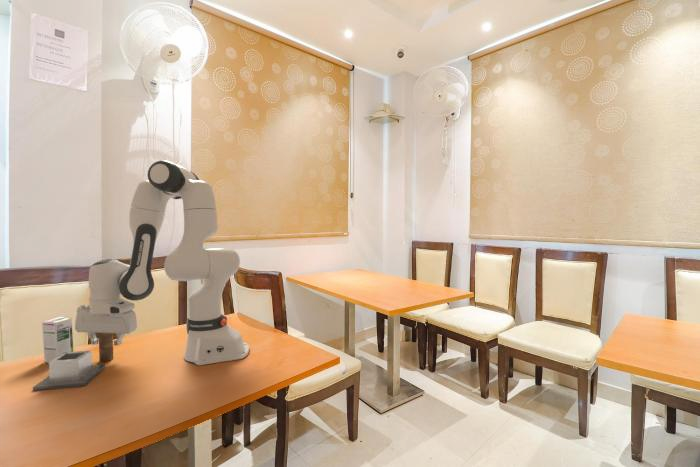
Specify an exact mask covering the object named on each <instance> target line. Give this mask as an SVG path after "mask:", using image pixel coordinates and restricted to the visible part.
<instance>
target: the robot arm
mask: <svg viewBox="0 0 700 467" xmlns="http://www.w3.org/2000/svg"><path fill="white" fill-rule="evenodd" d="M171 199H174V200H181V201H182V206H183V209H182V210H183V211H182V212H183V234H182V237H181V240H180V242H179V244H178V245H177V247H176V248H175V249H174V250H173V251H171V252H169V254H168V255H167V256H166V258H165V260H164V262H163V263H164V264H163V268H164V272H165V274H166V276H167V277H168V278H169V279H170V280H172V281H178V282H190V281H198V280H200V281H201V280H203V281H202V284H201V285H200V286H199V287H198V288H196V289H194V290H193V291H192V292H191V293H190V294H189V295H188V296H189V297H188V298H187V318H186V333H187V342H186V348H185V352H184V355H183V359H184V360H185V361H187V362H191V363H193V364H195V365H196V366H204V365H210V364H215V363H217V364H218V363H223V362H224V363H225V362H230V361H238V360H241V359H242V360H243V359H244V358H245V357H247V356H248V354H249V352H250V345H249V343H247V342H244V341H243V340H244V339H243V336H242V334H241V331H239V330H237V329H235V328H233V327H232V326H230V325H229V324H228V317H227V314H225V315H224V314H222V297H223V292H224V289H225V286H226V284H227V282H228V281H229V280H230V278H232V276H233V275H234V274H236V272H238V270H239V268H240V264H241V262H240V261H241V258H240V256H239V254H238V252H237V251H236V250H235V249H233V248H228V247H209V248H207V247H206V248H204V243H205V241H206V240H208V239H210V238H212V237H213V236H215V234H217V231H218V214H217V212H218V211H217V205H216V203H217V202H216V197H215V194H214V190H213V187H212V186H211V184H210V183H209V182H207V181H203V180H200V179H199V177H198V176H197V175H196V174H195V173H194V172H192V171H190V170H188V169H187V168H185V167H184V166H181V165H180V164H177V163H174V162H173V161H169V160H158V161H155V162H153V163H152V164H150V166H149V168H148V170H147V179H146V180H142V181H141V182H139V183H138V184H137V187H136V188H135V191H134V194H133V197H132V200H131V204H130V209H129V218H128V219H129V220H128V221H129V222H128V223H129V228H130V232H131V235H132V239H133V242H132V244H133V246H132V253H131V257H130V258H131V259H130V261H129V262H130V263H129V264H128V263H124V262H121V261H119V260H118V259H115V258H109V259H108V258H107V259H103V260H98V261H96V262H94V263H93V264H92V265H91V266H90V268H89V272H88V288H89V291H90V294H89V297H88V301H89V302H88V303H89V305H85V304H84V305H83V304H81V305H80V306H78V307H77V309H76V317H75V323H74V330H75V331H76V332H77V333H87V336H88V338H89V340H90V341H91V342H90V343H91V345H92V346H93V345H96V346H97V345H99V337H98V338H97V336H96V334H99V333H113V334H116V337H117V338H116V339H114V340H113V346H117V347H118V346H121V345H122V344H123V342H122V341H123V338H124V336H125V335H126V334H127V335H128V334H132V333H133V332H136V330H137V328H138V324H137V322H138V320H137V314H136V311H134V310H135V308H136V305H135V303H133V302H131V301H141V300H143V299H146V298H147V297H149V296H150V295H151V294H152V292H153V290H154V288H155V282H154V278H153V277H154V276H153V274H152V264H153V257H154V251H155V246H156V242H157V239H158V236H159V235H160V234H159V233H160V231H161V228H162V226H163V222H164V219H165V216H166V209H167V205H168V202H169V201H170V200H171ZM121 296H122V297H123V298H124V299H123V298H121ZM125 299H126V300H125ZM128 300H129V301H128Z"/></svg>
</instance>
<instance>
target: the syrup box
mask: <svg viewBox="0 0 700 467" xmlns="http://www.w3.org/2000/svg"><path fill="white" fill-rule="evenodd" d="M72 320H73V319H72V317H69V316H58V317H56V318H51V319H49V320H45V321H42V323H41V325H42V341H43V343H42V344H43V356H44V357H43V360H44V363H46V362H47V363H48V364H49V362H50V361H52V360H53V359H55V358H56V357H58V356H59V355H61V354H63V353H64V352H74V343H73V342H74V339H73V338H74V336H73V321H72Z"/></svg>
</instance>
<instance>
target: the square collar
mask: <svg viewBox="0 0 700 467" xmlns="http://www.w3.org/2000/svg"><path fill="white" fill-rule="evenodd" d="M92 354H93V353H92V350H80V351H73V352H64V353H63V354H61V355H59V356H58V357H56V358H55V359H53V360H52V361H50V362H49V363H48V368H49V369H48V371H49V373H48V374H49V375H48V376H46V377H45V378H44V379H42V380H41V381H39V382H38V383H37V384H35V385H34V386H33V387H32V392H33V391H34V392H36V391H45V390H58V389H67V388H69V389H70V388H78V387H79V388H80V387H86V386H87V384H89V383H90V382H91V381H92V380H94V379H95V377H97V376H98V375H99V374H100V373H101V372H102V371H104V369H105V368H106V363H104V364H93V359H92V358H93V357H92V356H93V355H92Z"/></svg>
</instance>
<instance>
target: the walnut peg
mask: <svg viewBox="0 0 700 467" xmlns="http://www.w3.org/2000/svg"><path fill="white" fill-rule="evenodd" d="M113 334H114V333H98V338H99V344H98V357H99V358H98V359H99V363H108V362H111V361H112V360H114V337H113V336H114V335H113Z"/></svg>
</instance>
